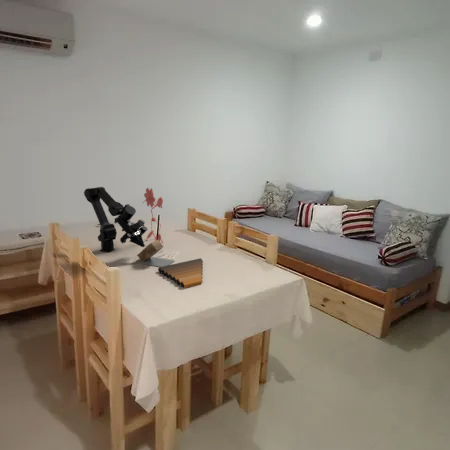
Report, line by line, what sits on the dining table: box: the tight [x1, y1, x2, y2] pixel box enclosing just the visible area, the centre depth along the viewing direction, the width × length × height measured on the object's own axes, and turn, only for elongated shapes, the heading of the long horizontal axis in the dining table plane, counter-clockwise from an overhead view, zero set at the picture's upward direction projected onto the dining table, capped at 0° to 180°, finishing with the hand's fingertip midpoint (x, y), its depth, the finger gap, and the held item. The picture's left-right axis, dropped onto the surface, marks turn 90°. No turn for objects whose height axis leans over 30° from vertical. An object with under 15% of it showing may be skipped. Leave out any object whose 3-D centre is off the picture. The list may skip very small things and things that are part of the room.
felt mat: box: [141, 256, 175, 268], centre depth 194 cm, size 14×11×1 cm
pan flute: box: [157, 257, 204, 289], centre depth 180 cm, size 25×3×25 cm
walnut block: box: [136, 240, 164, 263], centre depth 194 cm, size 5×7×12 cm
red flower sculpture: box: [142, 187, 164, 244], centre depth 225 cm, size 15×26×35 cm, turn 38°
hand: (143, 246), depth 195 cm, fingers closed
